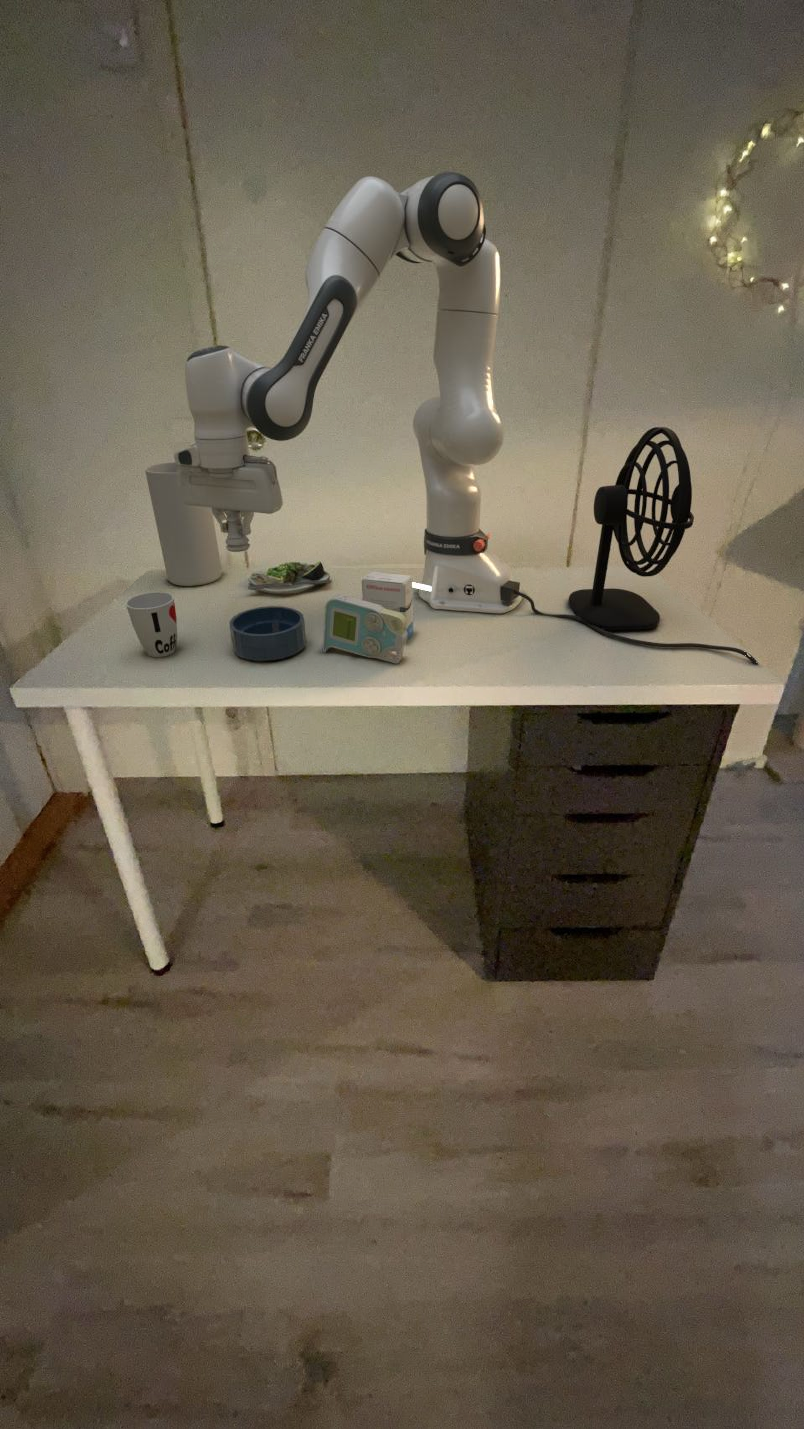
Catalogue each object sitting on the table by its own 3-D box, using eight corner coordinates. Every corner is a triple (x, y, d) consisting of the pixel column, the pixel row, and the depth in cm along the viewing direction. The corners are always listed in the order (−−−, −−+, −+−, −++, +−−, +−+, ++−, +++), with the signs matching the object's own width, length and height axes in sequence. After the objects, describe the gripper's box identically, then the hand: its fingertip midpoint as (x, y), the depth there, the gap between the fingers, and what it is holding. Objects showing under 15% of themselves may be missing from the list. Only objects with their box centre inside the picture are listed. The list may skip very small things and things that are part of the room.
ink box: (414, 633, 126) (413, 574, 120) (405, 643, 122) (405, 583, 116) (373, 627, 129) (370, 570, 123) (363, 637, 125) (360, 578, 119)
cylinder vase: (222, 584, 151) (203, 471, 138) (165, 589, 148) (141, 474, 135) (222, 567, 161) (205, 460, 148) (170, 571, 159) (148, 463, 146)
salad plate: (265, 606, 139) (263, 585, 136) (230, 583, 151) (227, 564, 149) (342, 586, 149) (341, 566, 146) (303, 566, 161) (301, 547, 159)
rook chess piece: (244, 553, 120) (238, 508, 116) (222, 551, 121) (214, 507, 116) (254, 545, 123) (248, 502, 119) (232, 544, 124) (225, 501, 120)
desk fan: (687, 639, 122) (734, 439, 104) (595, 642, 122) (627, 442, 103) (634, 588, 146) (666, 417, 127) (557, 590, 145) (577, 419, 126)
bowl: (319, 639, 125) (317, 612, 122) (281, 669, 114) (277, 640, 111) (260, 628, 129) (257, 602, 126) (218, 656, 119) (214, 628, 116)
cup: (158, 664, 116) (146, 612, 111) (128, 654, 120) (115, 603, 115) (193, 647, 122) (183, 597, 117) (163, 638, 126) (152, 589, 121)
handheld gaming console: (397, 675, 116) (321, 652, 119) (403, 668, 118) (328, 646, 122) (405, 618, 110) (325, 596, 113) (411, 612, 112) (332, 591, 115)
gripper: (284, 454, 112) (293, 534, 119) (189, 447, 119) (203, 523, 126) (263, 460, 107) (273, 544, 114) (165, 453, 114) (181, 532, 122)
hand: (236, 533), depth 120 cm, fingers closed on rook chess piece, 3 cm apart
